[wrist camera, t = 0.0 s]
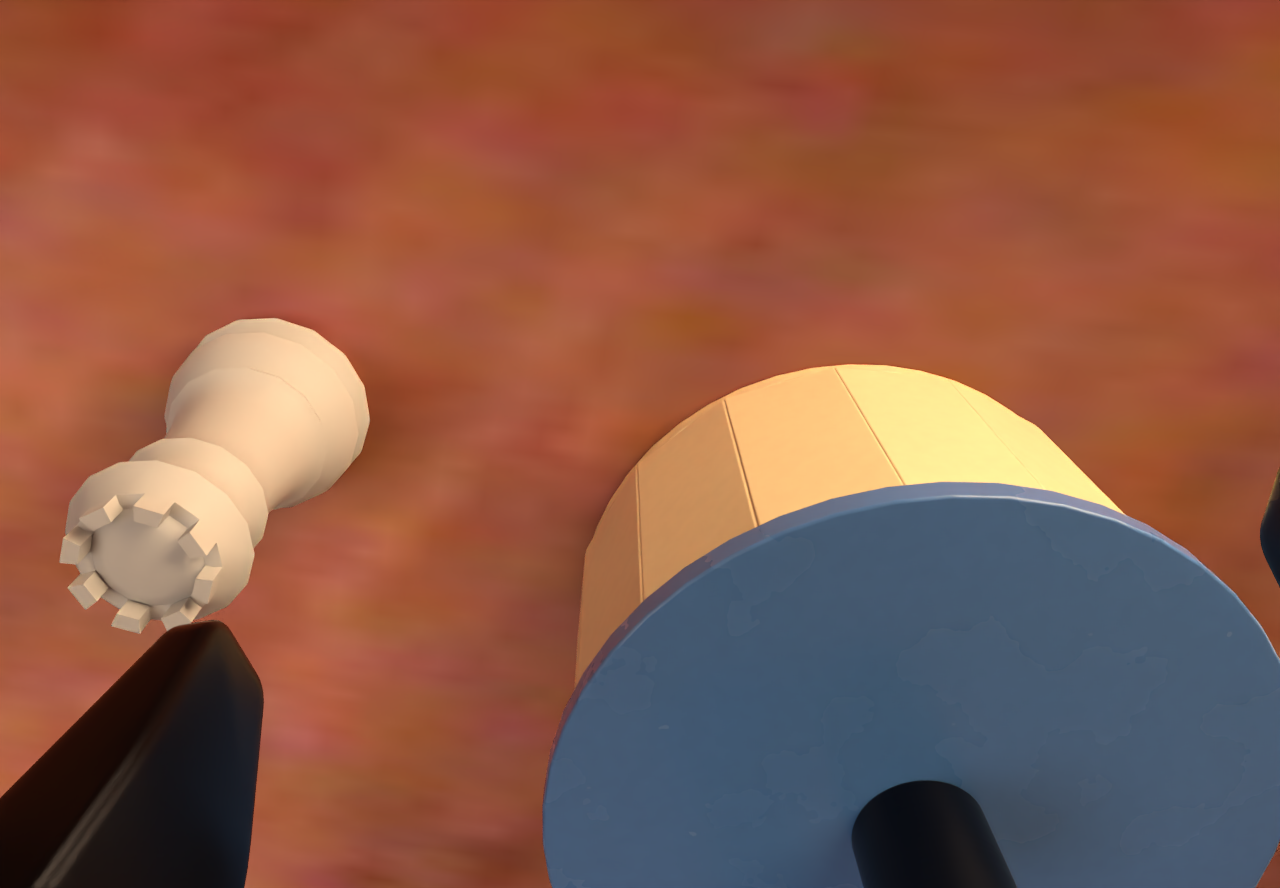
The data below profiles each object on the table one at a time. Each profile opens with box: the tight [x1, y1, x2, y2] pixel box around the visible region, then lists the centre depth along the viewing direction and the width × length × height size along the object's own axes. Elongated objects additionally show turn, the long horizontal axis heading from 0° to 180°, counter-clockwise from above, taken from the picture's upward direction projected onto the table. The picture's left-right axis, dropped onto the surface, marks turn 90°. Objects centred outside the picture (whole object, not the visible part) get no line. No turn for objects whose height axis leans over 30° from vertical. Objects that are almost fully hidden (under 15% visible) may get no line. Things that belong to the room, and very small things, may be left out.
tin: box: [574, 364, 1125, 690], centre depth 24 cm, size 14×14×8 cm
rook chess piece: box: [59, 318, 370, 634], centre depth 21 cm, size 4×4×8 cm
